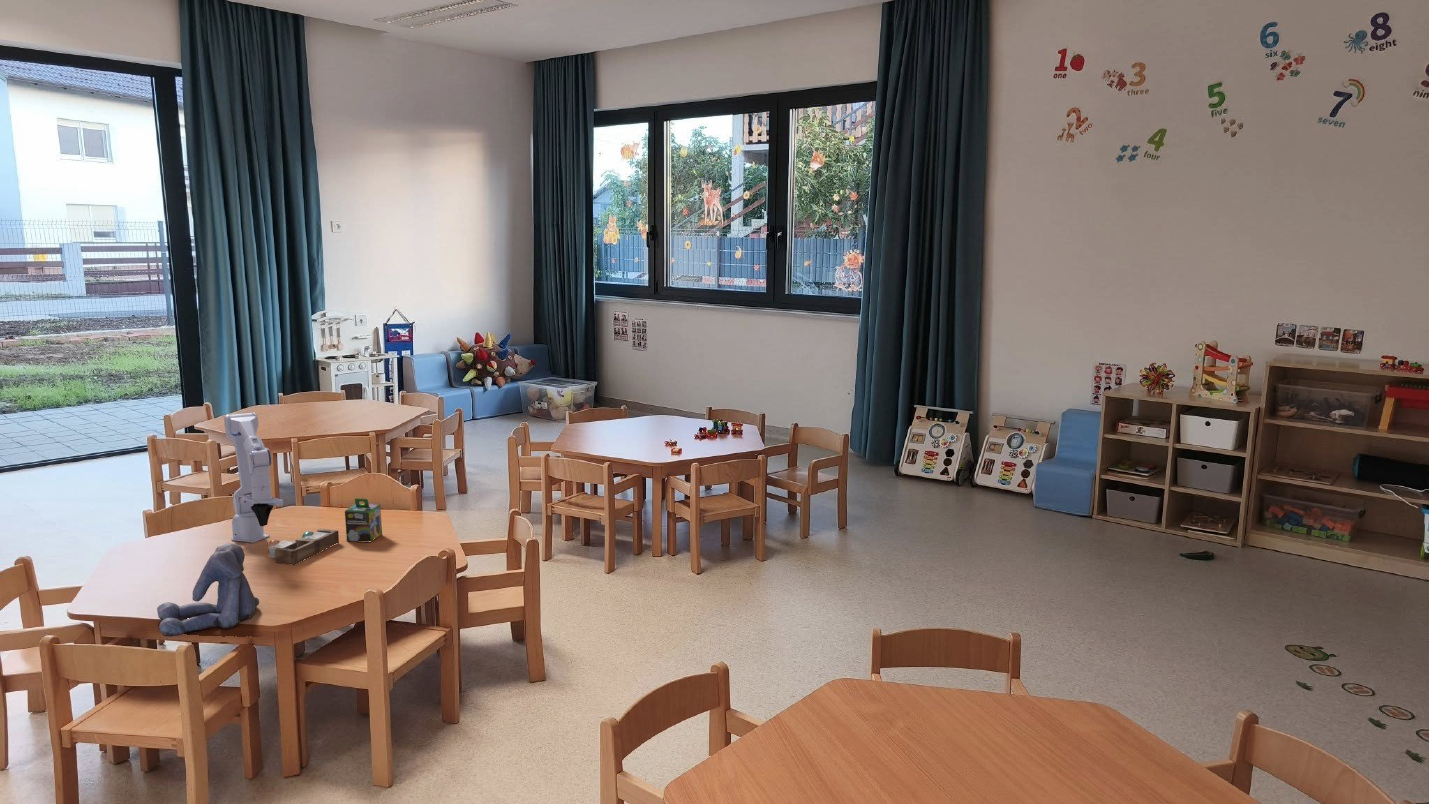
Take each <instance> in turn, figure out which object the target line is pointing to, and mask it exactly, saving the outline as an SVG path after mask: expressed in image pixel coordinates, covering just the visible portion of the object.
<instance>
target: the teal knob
mask: <svg viewBox="0 0 1429 804" xmlns="http://www.w3.org/2000/svg"><path fill="white" fill-rule="evenodd" d="M326 534H329V533H324V532H317V531H316V532H313V531H308V530H306V531H305V532H304V533H303V534H302V536H301V537H302V538H311V539H318V538H320V537H322V536H324V535H326Z"/></svg>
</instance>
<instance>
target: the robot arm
mask: <svg viewBox="0 0 1429 804" xmlns="http://www.w3.org/2000/svg"><path fill="white" fill-rule="evenodd" d="M223 422H224V423H223V425H224V430H225V431H224V432H225V436H226V438H227V440H229V441H232V443H233V446H234V451H235V458H236V465H237V471H238V478H239V485H240V487H239V488H238V489H237V490H235V491H234V492H233V496H232V500H233V501H232V502H233V503H232V504H233V511H234V516H232V520H231V528H232V538H231V541H234V542H235V541H237V542H244V543H257V542H260V541H261V540H264V539H266V538H268V537H271V535H270V534H267V533H264V527H265V526H267V525H268V523H269V518H270V515H271V511H272V510H273V509H274V506H275V507H280V508H281V507H282V506H284V499H281V498H277V497H272V485H271V484H272V483H271V469H270V467H272V463H273V462H272V460H273V458H272V454H271V450H270V449H269V448H267V447H265V444H264V442H263V440H262V438H261V437H260V436H258V435H257V432H258V428H259V417H258V414H257V413H256V412H255V411H253V412H250V413H249V412H248V413H236V414H235V413H233V414H226V415H224V418H223Z"/></svg>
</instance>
